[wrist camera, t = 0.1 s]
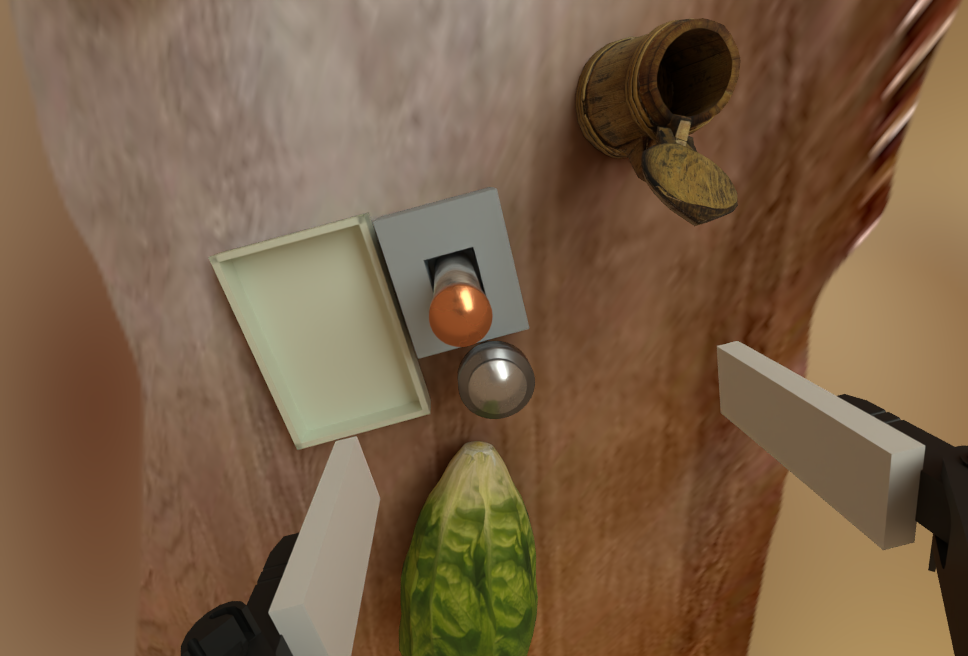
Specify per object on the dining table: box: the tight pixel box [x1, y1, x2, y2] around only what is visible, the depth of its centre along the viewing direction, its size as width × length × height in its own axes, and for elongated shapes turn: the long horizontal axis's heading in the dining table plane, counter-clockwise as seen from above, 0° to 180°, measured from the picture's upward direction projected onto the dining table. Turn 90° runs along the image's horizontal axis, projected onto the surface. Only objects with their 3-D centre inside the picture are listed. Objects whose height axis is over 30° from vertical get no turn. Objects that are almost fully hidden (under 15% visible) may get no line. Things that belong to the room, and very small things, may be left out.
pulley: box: [458, 341, 535, 419], centre depth 41 cm, size 6×6×8 cm
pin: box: [429, 251, 493, 347], centre depth 34 cm, size 4×4×15 cm
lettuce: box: [399, 441, 538, 656], centre depth 46 cm, size 14×23×13 cm, turn 173°
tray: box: [208, 213, 431, 450], centre depth 42 cm, size 19×13×3 cm
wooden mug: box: [576, 18, 740, 226], centre depth 31 cm, size 9×14×18 cm, turn 166°
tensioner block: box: [373, 187, 529, 359], centre depth 40 cm, size 12×10×5 cm
